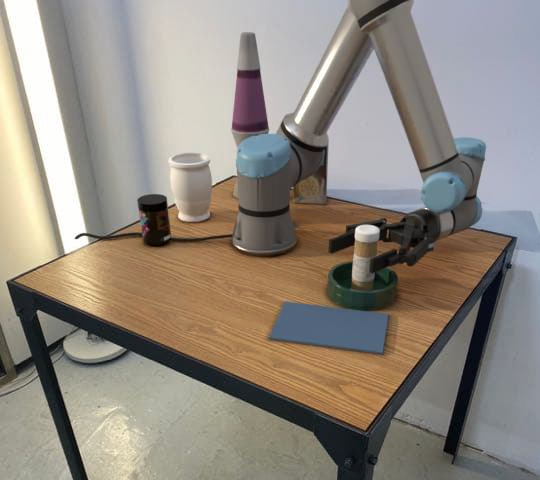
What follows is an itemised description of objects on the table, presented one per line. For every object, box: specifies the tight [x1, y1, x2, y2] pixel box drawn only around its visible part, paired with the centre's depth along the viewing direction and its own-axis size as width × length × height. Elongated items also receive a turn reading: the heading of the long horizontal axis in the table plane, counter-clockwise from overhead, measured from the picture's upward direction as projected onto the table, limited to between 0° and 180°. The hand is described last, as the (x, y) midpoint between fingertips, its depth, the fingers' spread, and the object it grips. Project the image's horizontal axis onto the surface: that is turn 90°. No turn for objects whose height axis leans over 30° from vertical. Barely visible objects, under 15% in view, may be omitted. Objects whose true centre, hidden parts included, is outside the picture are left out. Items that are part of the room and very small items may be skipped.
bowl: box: [326, 260, 399, 312], centre depth 113 cm, size 14×14×4 cm
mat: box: [268, 301, 390, 355], centre depth 104 cm, size 20×13×1 cm, turn 76°
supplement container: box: [136, 193, 172, 248], centre depth 132 cm, size 7×7×10 cm
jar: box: [167, 152, 213, 223], centre depth 143 cm, size 11×10×15 cm
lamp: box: [230, 31, 270, 199], centre depth 150 cm, size 11×11×40 cm
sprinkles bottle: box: [351, 225, 380, 291], centre depth 110 cm, size 5×5×13 cm
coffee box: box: [292, 141, 330, 205], centre depth 153 cm, size 9×6×16 cm
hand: (349, 256), depth 106 cm, fingers open, 10 cm apart
